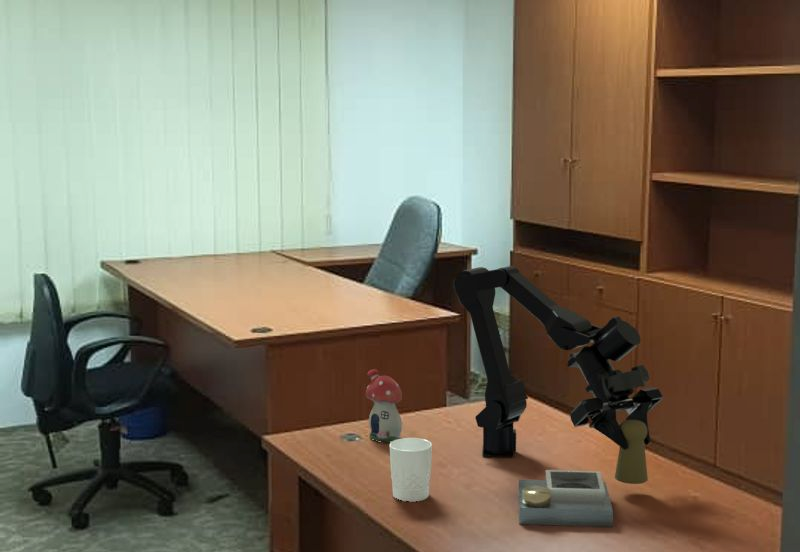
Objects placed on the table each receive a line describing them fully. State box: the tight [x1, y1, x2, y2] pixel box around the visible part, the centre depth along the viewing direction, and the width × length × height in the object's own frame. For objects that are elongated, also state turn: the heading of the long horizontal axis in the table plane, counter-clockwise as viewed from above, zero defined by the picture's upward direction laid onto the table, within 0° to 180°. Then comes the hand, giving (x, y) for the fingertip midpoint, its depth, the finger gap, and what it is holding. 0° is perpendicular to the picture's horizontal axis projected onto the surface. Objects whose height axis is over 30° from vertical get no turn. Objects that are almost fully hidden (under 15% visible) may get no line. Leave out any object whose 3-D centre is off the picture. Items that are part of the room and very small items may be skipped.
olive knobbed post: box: [614, 419, 649, 485], centre depth 196 cm, size 6×6×11 cm
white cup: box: [388, 437, 433, 503], centre depth 197 cm, size 8×8×10 cm
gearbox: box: [517, 469, 614, 528], centre depth 190 cm, size 16×14×5 cm
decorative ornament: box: [365, 368, 403, 443], centre depth 231 cm, size 9×7×15 cm
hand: (637, 446), depth 195 cm, fingers closed on olive knobbed post, 5 cm apart
